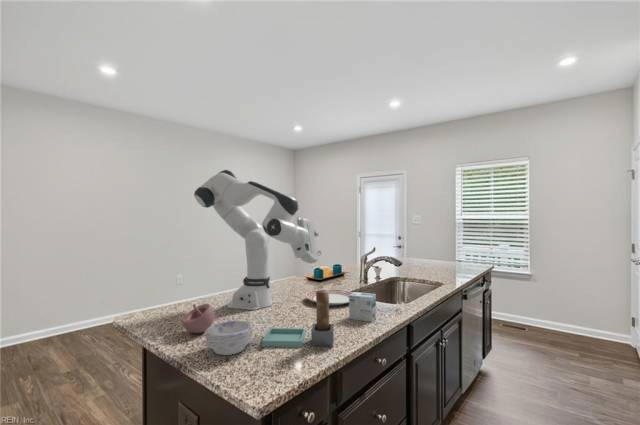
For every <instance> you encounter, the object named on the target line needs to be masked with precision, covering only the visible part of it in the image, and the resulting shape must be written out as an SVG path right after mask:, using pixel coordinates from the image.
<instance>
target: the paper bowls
mask: <svg viewBox="0 0 640 425" xmlns="http://www.w3.org/2000/svg"><path fill="white" fill-rule="evenodd" d="M205 336H206V337H205V338H206V339H205V341H206V342H205V343H206V344H205V345H206V347H208V348H210V349H212V351H213V352H214V354H217V355H219V356H232V354H233V355H236V354H239V353H241V352H243V351H244V350H245V348H246V346H247V345H249V343H251V342H252V339H253V326H252V323H250V322H248V321H245V320H227V321H221V322H218V323H213V324H212V325H211V326H210V327H209V328H208V329H207V330H206V331H205Z"/></svg>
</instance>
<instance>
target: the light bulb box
mask: <svg viewBox="0 0 640 425" xmlns="http://www.w3.org/2000/svg"><path fill="white" fill-rule="evenodd" d="M376 294H377V293H368V292H367V293H366V292H358V291H353V292H352V293H351V294H350V295H349V303H348V312H349V313H348V318H349V320H355V321H364V322H371V323H372V322H373V321H374V320H375V319H376V318H377V297H376Z"/></svg>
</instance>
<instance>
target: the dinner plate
mask: <svg viewBox="0 0 640 425" xmlns="http://www.w3.org/2000/svg"><path fill="white" fill-rule="evenodd" d="M317 291H328V292H329V307H331V306H333V307H334V306H341V305H345V304H349V295H350V294H351V293H353V292H351V291H349V290H344V289H336V288H335V289H333V288H322V289H314V290H310V291H309V292H307V293H306V294H305V298H306V299H308V300H310V301H311V302H314V303H316V292H317Z"/></svg>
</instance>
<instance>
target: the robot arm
mask: <svg viewBox="0 0 640 425" xmlns="http://www.w3.org/2000/svg"><path fill="white" fill-rule="evenodd" d="M193 195H194V198H195V200H196V202H197V203H198V204H199V205H200V206H201V207H203V208H210V207H213V209H214V210H215V212H216V213H217V215H219V217H220V218H221V219H222V220H223V221H224V222H225V223H226V224H227V225H228V227H230V228H231V229H232V230H233V231H234V232H235V233H236V234H238V235H239V236H240V237H241V238H243V239H244V243H245V246H244V247H245V256H246V273H247V274H246V276H245V277H244V278H243V279H242V283H243V285H241V286H240V287H239V288H238V289H236V291H234V293H233V294H232V298H231V301H229V302H228V303H227V306H226V307H227V308H228V309H235V310H236V309H237V310H251V311H255V310H258V309H264V308H267V307H270V306H272V305H273V300H272V295H271V291H270V289H271V276H270V258H269V242H270V237H271V238H272V239H275V240H276V241H279V242H280V243H283V244H288V245H289V246H290V247H291V248H292V251H293V254H294V257H295V258H297V259H300V260H302V262H305V263H307V264H315V263H316V262H318V256H320V257H321V256H322V251H320V250H318V251H317V247H316V238H318V237H319V232H317V231H316V229H314V225H313V221H312V220H311V219H309V218H303V217H301V216H298V217H297V218H296V224H294V223H293V222H292V221H291V219H292V218H293V217H294V215H296V213H297V211H299V203H298V200H297V199H296V198H295V197H294V196H291V195H289V194H285V193H281V192H279V191H277V190H275V189H272V188H270V187H268V186H265V185H264V184H261V183H259V182H255V181H251V180H250V181H248V182H242V181H240V180H239V179H238V178H237V177H236V175H235V174H234V173H233V172H232V171H230V170H228V169H224V170H221V171H219V172H218V173H216V174H215V175H212V177H210V178H209V179H207V181H205V182H204V183H203V184H201V186H199V187H198V188H196V190H195V191H194V194H193ZM261 195H263V196H265V197H266V198H269V199H271V200H273V201H274V202H273V204H272V206H271V207H270V209H269V211H268V212H267V214H266V215H265V217H264V219H263V221H262V222H261V224H262V225H261V224H260V223H258V221H256V220H255V219H254V218H253V217H252V216H251V215H250V214H249V213H248V212H247V211H246V210H245V209H244V208H243V206H245V205H247V204H248V203H250V202H251V201H252V200H253V199H255V198H257V197H258V196H261Z"/></svg>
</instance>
